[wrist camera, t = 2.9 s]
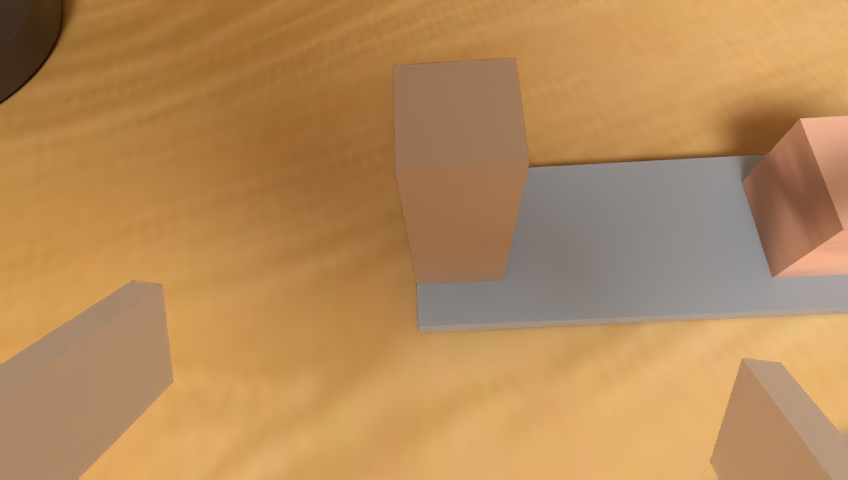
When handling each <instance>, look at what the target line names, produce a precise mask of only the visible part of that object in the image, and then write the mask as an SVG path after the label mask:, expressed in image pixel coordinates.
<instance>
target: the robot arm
mask: <svg viewBox="0 0 848 480" xmlns="http://www.w3.org/2000/svg"><path fill="white" fill-rule="evenodd" d="M61 18H62V6H61V0H0V101H2V100H3V99H5V98H6V97H7V96H9V95H10V94H11V93H13V92H14V91H15V90H16V89H17V88H19V87H20V86H21V85H22V84H23V83H24V82H25V81H26V80H27V79H28V78H29V77H30V76H31V75H32V74H33V73H34V72H35V71H36V69H37V68H38V67H39V66H40V64H41V63H42V62H43V61H44V59H45V58H46V56H47V55H48V53H49V51H50V50H51V48H52V46H53V44H54V42H55V40H56V37H57V35H58V32H59V28H60V24H61ZM172 383H173V373H172V364H171V355H170V347H169V338H168V329H167V320H166V311H165V303H164V294H163V285H162V284H157V283H149V282H141V281H133V280H132V281H131V282H129V283H128V284H126V285H125V286H123V287H122V288H120V289H118V290H117V291H115V292H114V293H112V294H111V295H109V296H107V297H106V298H104V299H103V300H101V301H100V302H98V303H96V304H95V305H93V306H92V307H90V308H89V309H87V310H86V311H84V312H82V313H81V314H79V315H78V316H76V317H75V318H73V319H71V320H70V321H68V322H67V323H65V324H64V325H62V326H61V327H59V328H57V329H56V330H54V331H53V332H51V333H50V334H48V335H46V336H45V337H43V338H42V339H40V340H39V341H37V342H36V343H34V344H32V345H31V346H29V347H28V348H26V349H25V350H23V351H21V352H20V353H18V354H17V355H15V356H14V357H12V358H10V359H9V360H7V361H6V362H4V363H3V364H1V365H0V480H78V479H79V478H80V477H81V476H82V475H83V474H84V473H85V472H86V471H87V470H88V469H89V468H90V467H91V466H92V465H93V464H94V463H95V462H96V461H97V460H98V459H99V457H100V456H101V455H102V454H103V453H104V452H105V451H106V450H107V449H108V448H109V447H110V446H111V445H112V444H113V443H114V442H115V441H116V440H117V439H118V438H119V437H120V436H121V435H122V434H123V433H124V432H125V431H126V430H127V429H128V428H129V427H130V426H131V425H132V424H133V423H134V422H135V421H136V420H137V419H138V418H139V417H140V416H141V415H142V414H143V413H144V412H145V410H146V409H147V408H148V407H149V406H150V405H151V404H152V403H153V402H154V401H155V400H156V399H157V398H158V397H159V396H160V395H161V394H162V393H163V392H164V391H165V390H166V389H167V388H168V387H169V386H170V385H171V384H172ZM710 462H711V464H712V467H713V469H714V471H715V473H716V475H717V477H718V479H719V480H848V442H847V441H846V440H845V439H844V437H843V436H842V435H841V434H840V432H839V431H838V430H837V429H836V428H835V426H834V425H833V424H832V423H831V422H830V421H829V419H828V418H827V417H826V416H825V415H824V413H823V412H822V411H821V410H820V409H819V408H818V406H817V405H816V404H815V403H814V402H813V400H812V399H811V398H810V397H809V396H808V395H807V393H806V392H805V391H804V390H803V389H802V388H801V386H800V385H799V384H798V383H797V382H796V380H795V379H794V378H793V377H792V376H791V375H790V373H789V372H788V371H787V370H786V369H785V367H784V366H783V365H782V364H781V363H778V362H770V361H762V360H754V359H746V358H742V360H741V364H740V367H739V370H738V373H737V376H736V380H735V383H734V386H733V389H732V392H731V396H730V399H729V402H728V405H727V408H726V412H725V415H724V418H723V421H722V424H721V428H720V431H719V434H718V437H717V440H716V444H715V447H714V450H713V453H712V456H711V460H710Z"/></svg>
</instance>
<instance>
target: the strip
mask: <svg viewBox="0 0 848 480" xmlns="http://www.w3.org/2000/svg"><path fill="white" fill-rule="evenodd" d="M766 155H767V154H763V155H745V156H727V157H709V158H691V159H673V160H655V161H637V162H619V163H601V164H583V165H565V166H547V167H529V168H528V166H529V154H528V147H527V139H526V132H525V124H524V117H523V109H522V102H521V94H520V86H519V79H518V71H517V64H516V58H503V59H487V60H471V61H455V62H439V63H424V64H408V65H394V160H395V174H396V179H397V184H398V189H399V195H400V200H401V205H402V210H403V215H404V220H405V226H406V231H407V236H408V241H409V246H410V252H411V257H412V262H413V267H414V272H415V278H416V283H417V309H418V329H419V332H442V331H464V330H486V329H508V328H531V327H553V326H575V325H597V324H620V323H642V322H664V321H686V320H708V319H731V318H753V317H775V316H797V315H820V314H842V313H848V274H846V275H825V276H804V277H783V278H772V275H771V272H770V269H769V266H768V263H767V260H766V257H765V254H764V250H763V247H762V244H761V241H760V238H759V235H758V232H757V228H756V225H755V222H754V219H753V216H752V213H751V210H750V207H749V203H748V200H747V197H746V194H745V191H744V188H743V185H742V181H743V180H744V179H745V178H746V177H747V176H748V175H749V174H750V172H751V171H752V170H753V169H754V168H755V167H756V166H757V165H758V164H759V163H760V162H761V160H762V159H763V158H764V157H765V156H766Z"/></svg>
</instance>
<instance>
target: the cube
mask: <svg viewBox="0 0 848 480" xmlns="http://www.w3.org/2000/svg"><path fill="white" fill-rule="evenodd" d="M742 185H743V188H744V191H745V194H746V197H747V200H748V203H749V207H750V210H751V213H752V216H753V219H754V222H755V225H756V228H757V232H758V235H759V238H760V241H761V244H762V247H763V250H764V254H765V257H766V260H767V263H768V266H769V269H770V272H771V275H772V278H783V277H804V276H825V275H846V274H848V116H835V117H818V118H800V119H799V120H798V121H797V122H796V123H795V124H794V126H793V127H792V128H791V129H790V130H789V131H788V132H787V133H786V134H785V135H784V136H783V138H782V139H781V140H780V141H779V142H778V143H777V144H776V145H775V146H774V147H773V148H772V150H771V151H770V152H769V153H768V154H767V155H766V156H765V157H764V158H763V159H762V160H761V162H760V163H759V164H758V165H757V166H756V167H755V168H754V169H753V170H752V171H751V172H750V174H749V175H748V176H747V177H746V178H745V179H744V180H743V181H742Z"/></svg>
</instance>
